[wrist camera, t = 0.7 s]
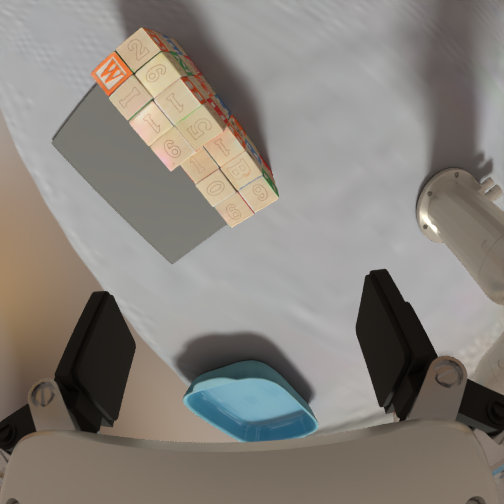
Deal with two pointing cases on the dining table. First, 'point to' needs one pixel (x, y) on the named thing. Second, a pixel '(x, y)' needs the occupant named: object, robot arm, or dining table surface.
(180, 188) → the mat
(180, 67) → the stack of blocks
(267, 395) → the casserole dish
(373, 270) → the robot arm
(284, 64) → the dining table surface
